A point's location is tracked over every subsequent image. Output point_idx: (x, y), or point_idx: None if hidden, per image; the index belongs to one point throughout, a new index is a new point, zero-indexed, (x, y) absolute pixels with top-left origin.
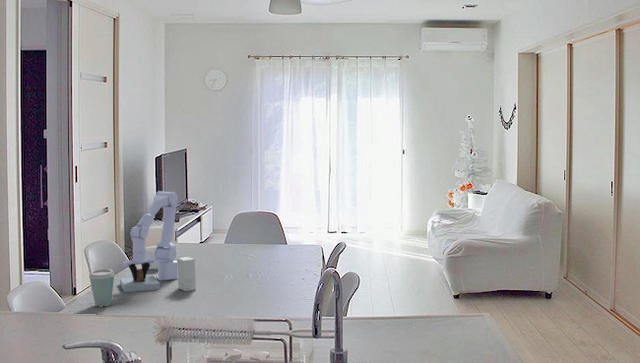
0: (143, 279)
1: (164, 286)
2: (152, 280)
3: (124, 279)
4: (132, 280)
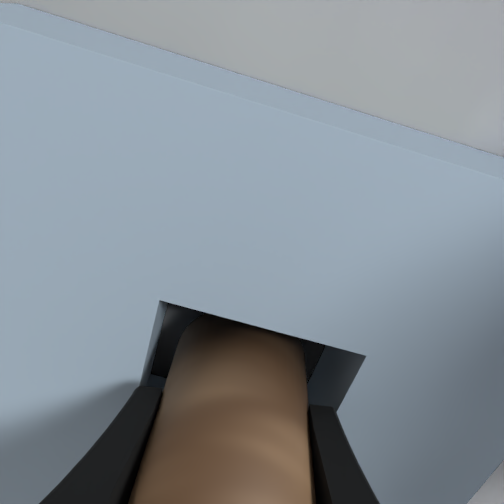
0: (352, 346)
1: (497, 470)
2: (404, 488)
3: (24, 177)
4: (142, 334)
